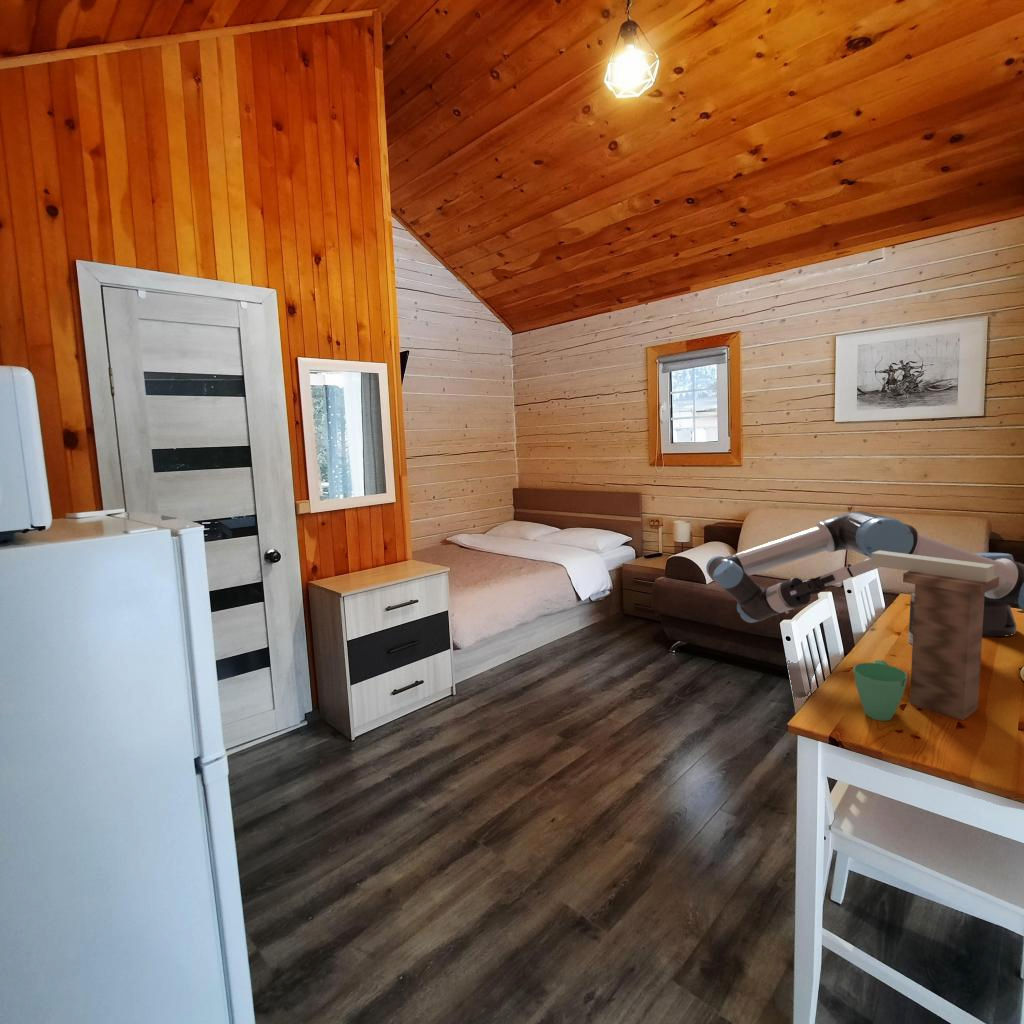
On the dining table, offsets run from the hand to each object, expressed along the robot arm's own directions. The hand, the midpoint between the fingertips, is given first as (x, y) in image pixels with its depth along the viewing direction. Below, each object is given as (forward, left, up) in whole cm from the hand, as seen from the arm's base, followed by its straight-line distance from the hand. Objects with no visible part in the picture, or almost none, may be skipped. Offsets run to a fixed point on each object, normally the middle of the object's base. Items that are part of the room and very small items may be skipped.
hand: (862, 567), depth 139 cm
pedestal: (-16, +8, -29) cm, 34 cm away
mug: (-3, +15, -29) cm, 33 cm away
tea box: (-22, -28, -29) cm, 46 cm away
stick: (-12, +6, +1) cm, 14 cm away
